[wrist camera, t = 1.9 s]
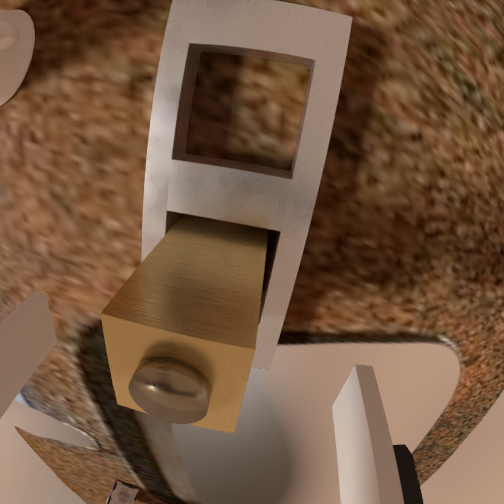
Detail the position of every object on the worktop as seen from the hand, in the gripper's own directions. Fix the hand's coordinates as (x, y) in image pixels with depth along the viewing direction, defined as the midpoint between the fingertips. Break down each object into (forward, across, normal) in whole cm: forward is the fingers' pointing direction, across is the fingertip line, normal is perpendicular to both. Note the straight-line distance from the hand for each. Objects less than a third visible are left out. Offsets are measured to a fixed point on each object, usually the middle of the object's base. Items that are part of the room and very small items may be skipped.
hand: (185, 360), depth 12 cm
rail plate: (+9, 0, +4) cm, 10 cm away
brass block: (+9, 0, 0) cm, 9 cm away
